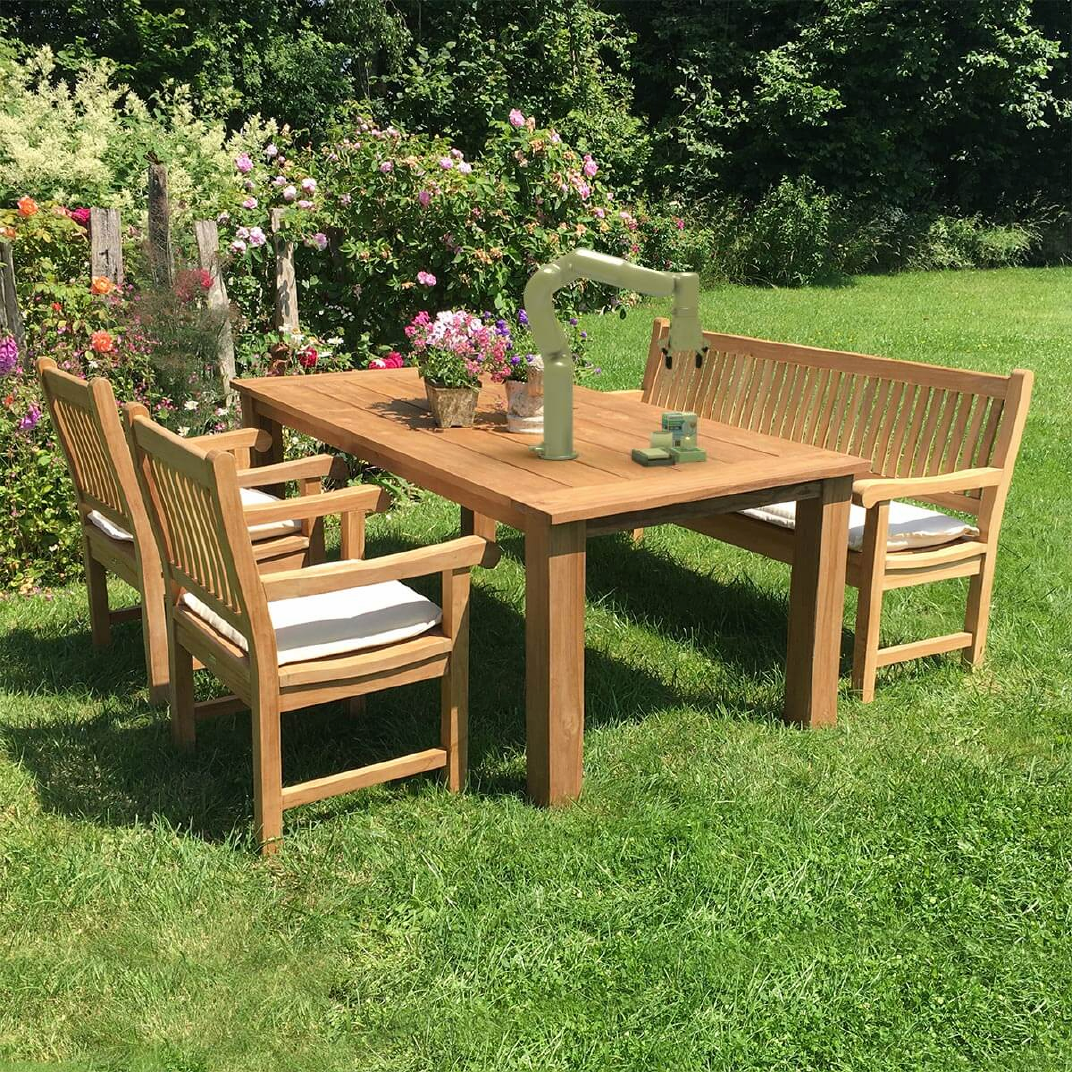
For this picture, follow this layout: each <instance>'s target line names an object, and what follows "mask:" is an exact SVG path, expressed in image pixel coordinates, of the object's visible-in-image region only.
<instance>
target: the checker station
mask: <svg viewBox="0 0 1072 1072" xmlns="http://www.w3.org/2000/svg"><path fill="white" fill-rule="evenodd" d="M658 448H659V449H661V450H662V451H664V452H666V453H668V454H669V457H667V458H652V459H648V457H647V456H646V455H644V454H642V453H640V452H639V451H637V450H636V449H635V448H633V449H631V457H630V458H631V460H632V461H633V462H635V463H637V464H639V465H640V466H642V467H644V468H650V467H651V468H653V467H665V466H667V467H668V466H675V465H676V461H675V455H674V454H672V453H670V452H669V451H667V450H665V448H664V447H658Z"/></svg>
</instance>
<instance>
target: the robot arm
mask: <svg viewBox="0 0 1072 1072" xmlns="http://www.w3.org/2000/svg"><path fill="white" fill-rule="evenodd" d="M580 278H584V279H587V280H592V281H596V282H600V283H604V284H606V285H611V286H613V287H617V288H619V289H620V288H622V289H625V290H629V291H634V292H637V293H639V294H643V295H648V296H652V297H656V298H660V299H663V298H664V299H665V298H667V297H669V296H670V295H673V296H674V297H673V298H674V299H673V307H672V309H669V311H668V312H669V314H670V315H672V317H671V319H670V323H669V328H668V335H667V336H666V337H665V338H663V339H661V340H659V341H657V345H658V347H659V350H660V352H661V353H662V354H663V355H664V356H665V357H664V358H665V363H664V365H665V367H666V369H667V370H670V371H671V370H672V369H673V356H672V354H674V352H675V351H676V352H677V351H678V352H687V351H688V352H689V351H691V352H692V351H695V352H696V355H695V362H694V363H695V365H694V366H695V368H696V369H701V368H702V366H703V358H704V355H705V354H706V352H708V351H709V348H710V346H711V344H712V341H711V340H710V339H708V338H706V337H704V336H703V327H702V320H701V319H702V318H701V317H699V296H700V276H699V274H698V273H697V272H692V271H691V272H689V271H682V272H671V271H666V270H665V271H664V270H659V271H657V270H654V269H650V268H646V267H643V266H640V265H636V264H634V263H633V262H630V261H629V260H626V259H624V258H621V257H617V256H614V255H610V254H606V253H602V252H599V251H594V250H591V249H589V248H587V247H583V246H582V247H581V246H580V247H579V246H578V247H576V248H573V250H571V251H570V252H568V253H566V254H565V255H563V256H561V257H559V258H557V259H556V260H553V261H552V262H550V263H548V264H545V265H544V266H542V267H540V268H539V269H537V271H536V272H535V273H533V274H532V275H531V277H530V278H529V280H528V282H526V285H525V288H524V292H523V304H524V309H525V312H526V316H527V320H528V324H529V327H530V332H531V335H532V338H533V343H534V345H535V348H536V350H537V351H538V352H539V354H540V357H541V361H542V363H543V366H544V367H543V370H542V377H541V380H542V395H543V396H542V405H543V407H542V409H543V410H542V411H543V412H542V413H543V414H542V415H543V421H542V422H543V441H540V443H538V445H537V444H536V445H535V444H534V445H533V444H532V445H529V446H528V451H529V452H535V453H538V457H539V456H540V457H539V458H541V459H543V460H550V461H551V460H552V461H562V460H563V461H564V460H565V461H566V460H572V459H576V458H578V456H579V452H578V451H577V450H574V375H575V364H574V360H573V357H572V353H571V350H570V346H569V343H568V339H567V336H566V334H565V331H564V329H563V328H562V327H561V325H560V324H558V321H557V316H556V314H555V311H554V310H555V309H554V306H553V303H552V295H553V294H555V293H556V292H557V291H558V290H560V289H562V288H563V287H565V286H567V285H569V284H570V283H573V282H574V281H576V280H577V279H578V280H579V279H580ZM703 343H704V346H703ZM665 344H667V348H665Z"/></svg>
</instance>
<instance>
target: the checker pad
mask: <svg viewBox="0 0 1072 1072" xmlns="http://www.w3.org/2000/svg"><path fill="white" fill-rule="evenodd" d="M637 451H639V452H640V453H642V454H644V455H646V456H647V457H648V459H652V458H667V457H669V454H668V453H666V452H664V451H662V450H661V449H659V448H640V449H639V448H637Z"/></svg>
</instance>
